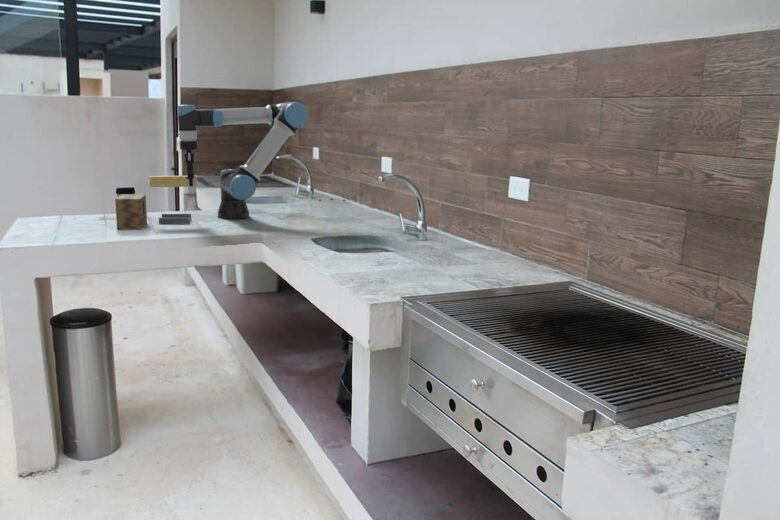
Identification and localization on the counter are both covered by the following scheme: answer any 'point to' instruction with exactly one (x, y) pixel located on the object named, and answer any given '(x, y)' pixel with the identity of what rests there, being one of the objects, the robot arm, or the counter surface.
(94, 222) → the counter surface
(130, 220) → the wooden block
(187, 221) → the saddle tray
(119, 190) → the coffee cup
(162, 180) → the brass bar
